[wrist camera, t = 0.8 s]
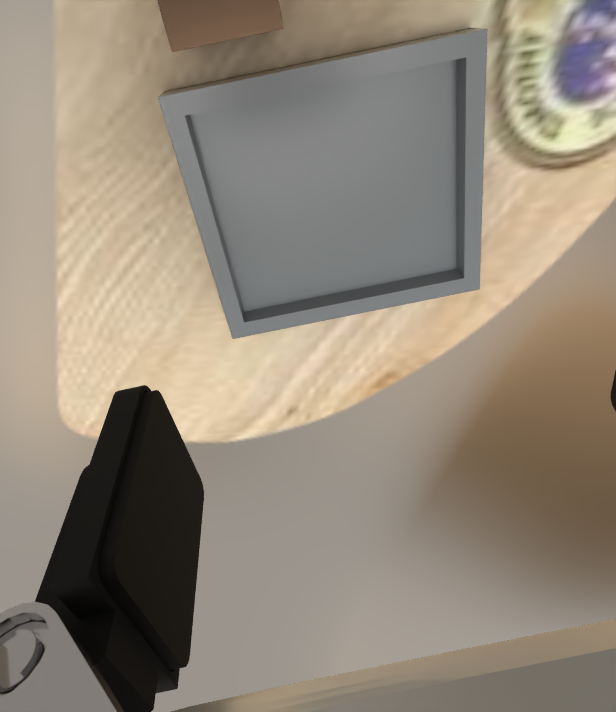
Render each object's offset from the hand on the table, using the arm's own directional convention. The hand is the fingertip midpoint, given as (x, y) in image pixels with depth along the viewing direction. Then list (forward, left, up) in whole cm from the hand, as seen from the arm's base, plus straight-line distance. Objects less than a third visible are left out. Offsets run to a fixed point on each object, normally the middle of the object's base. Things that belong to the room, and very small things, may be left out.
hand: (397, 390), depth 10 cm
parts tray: (+3, +2, -22) cm, 22 cm away
